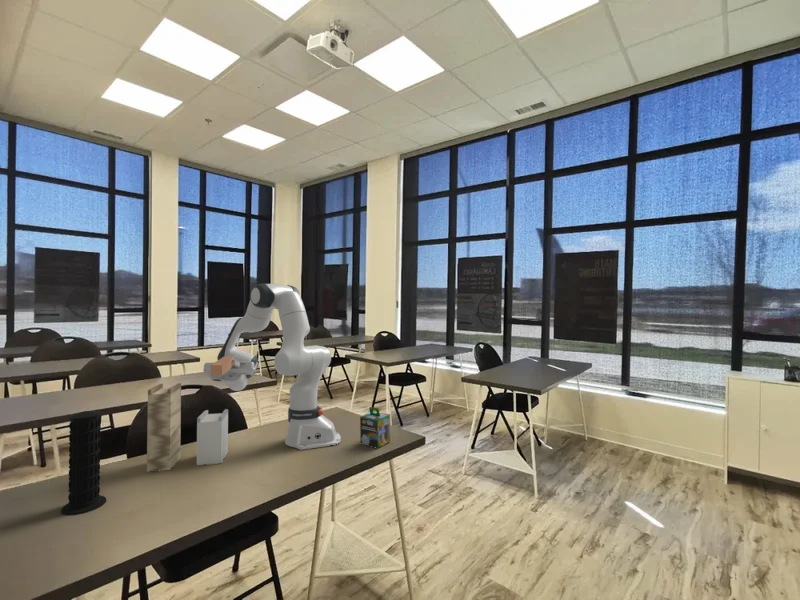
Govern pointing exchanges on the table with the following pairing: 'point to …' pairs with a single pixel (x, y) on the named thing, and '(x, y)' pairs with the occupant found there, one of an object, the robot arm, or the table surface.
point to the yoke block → (212, 437)
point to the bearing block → (163, 427)
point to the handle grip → (84, 464)
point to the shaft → (222, 366)
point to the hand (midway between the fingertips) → (226, 361)
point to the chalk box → (375, 428)
